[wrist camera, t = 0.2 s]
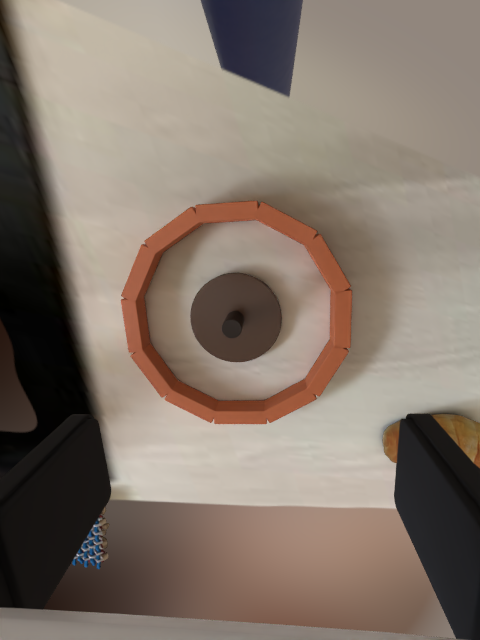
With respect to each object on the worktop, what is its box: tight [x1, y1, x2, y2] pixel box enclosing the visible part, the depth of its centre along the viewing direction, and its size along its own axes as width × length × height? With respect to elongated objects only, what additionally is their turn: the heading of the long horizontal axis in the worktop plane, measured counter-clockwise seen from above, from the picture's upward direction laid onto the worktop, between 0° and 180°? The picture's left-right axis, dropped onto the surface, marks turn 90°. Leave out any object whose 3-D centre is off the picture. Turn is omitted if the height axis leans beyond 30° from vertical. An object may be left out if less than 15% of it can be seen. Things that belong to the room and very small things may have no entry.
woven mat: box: [72, 508, 109, 569], centre depth 40 cm, size 10×11×2 cm
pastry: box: [383, 414, 480, 468], centre depth 32 cm, size 9×7×4 cm
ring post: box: [191, 273, 281, 362], centre depth 31 cm, size 9×9×4 cm
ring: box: [121, 201, 352, 424], centre depth 31 cm, size 22×22×2 cm
